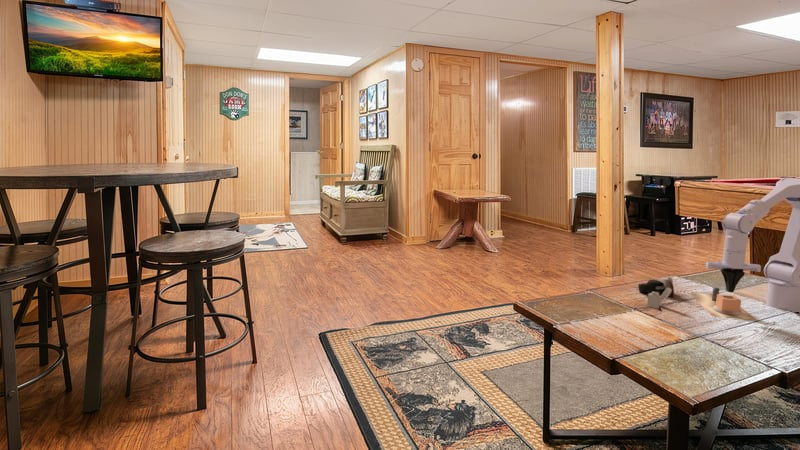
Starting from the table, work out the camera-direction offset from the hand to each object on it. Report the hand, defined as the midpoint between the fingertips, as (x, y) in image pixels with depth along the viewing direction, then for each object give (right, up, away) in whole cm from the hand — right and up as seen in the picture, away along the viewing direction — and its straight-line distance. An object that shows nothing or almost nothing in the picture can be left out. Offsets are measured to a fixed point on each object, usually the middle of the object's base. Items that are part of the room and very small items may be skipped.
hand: (729, 291), depth 145 cm
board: (+2, -7, +7) cm, 10 cm away
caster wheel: (-12, -5, +22) cm, 26 cm away
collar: (0, -6, +1) cm, 6 cm away
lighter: (-19, -7, +7) cm, 22 cm away
